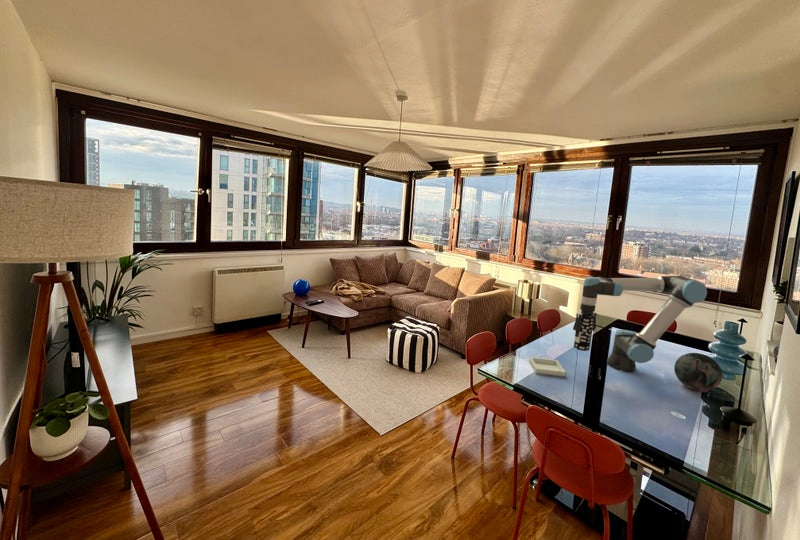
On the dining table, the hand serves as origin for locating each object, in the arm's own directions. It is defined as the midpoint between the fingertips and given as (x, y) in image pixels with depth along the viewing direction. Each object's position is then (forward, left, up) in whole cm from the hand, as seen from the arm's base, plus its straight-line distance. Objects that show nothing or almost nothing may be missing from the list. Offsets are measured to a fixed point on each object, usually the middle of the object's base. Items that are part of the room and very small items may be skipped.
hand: (582, 341), depth 203 cm
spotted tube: (0, 0, -5) cm, 5 cm away
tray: (+19, +5, -18) cm, 27 cm away
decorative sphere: (-59, +7, -18) cm, 62 cm away
